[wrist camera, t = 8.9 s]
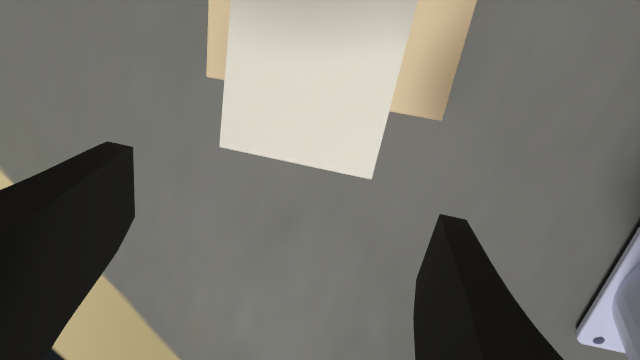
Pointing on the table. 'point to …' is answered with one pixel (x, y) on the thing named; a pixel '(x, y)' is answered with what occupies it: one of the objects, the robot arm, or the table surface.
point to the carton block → (313, 79)
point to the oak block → (418, 61)
